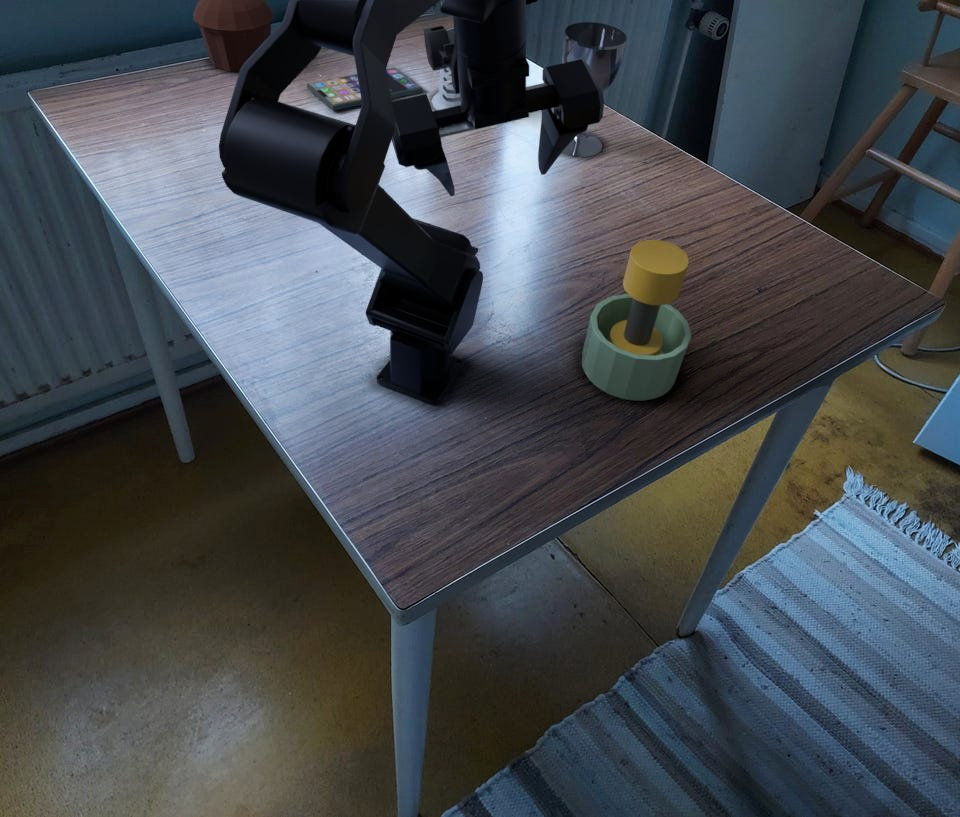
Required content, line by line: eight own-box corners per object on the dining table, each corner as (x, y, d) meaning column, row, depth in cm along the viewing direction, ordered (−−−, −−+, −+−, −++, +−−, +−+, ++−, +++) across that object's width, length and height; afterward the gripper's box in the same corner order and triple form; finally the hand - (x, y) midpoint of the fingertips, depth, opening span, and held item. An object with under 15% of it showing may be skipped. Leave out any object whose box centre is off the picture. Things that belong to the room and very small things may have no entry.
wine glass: (539, 147, 109) (554, 36, 98) (562, 125, 114) (579, 17, 103) (592, 164, 107) (613, 52, 96) (613, 140, 112) (635, 32, 101)
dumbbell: (605, 379, 77) (634, 271, 68) (601, 343, 81) (627, 237, 71) (658, 382, 77) (693, 276, 68) (651, 347, 81) (684, 241, 71)
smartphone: (422, 92, 118) (422, 84, 117) (333, 113, 112) (332, 105, 111) (394, 71, 123) (394, 63, 122) (307, 90, 116) (306, 82, 115)
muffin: (212, 80, 116) (199, 9, 109) (192, 51, 122) (179, -19, 115) (289, 69, 120) (282, -1, 113) (266, 41, 127) (258, -27, 120)
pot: (662, 413, 75) (676, 372, 71) (568, 380, 77) (577, 338, 73) (686, 354, 81) (700, 312, 77) (598, 324, 84) (608, 283, 80)
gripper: (569, -41, 68) (562, 107, 81) (358, 4, 66) (387, 147, 80) (613, 37, 62) (598, 182, 76) (385, 88, 61) (411, 227, 74)
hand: (496, 182), depth 77 cm, fingers open, 9 cm apart
